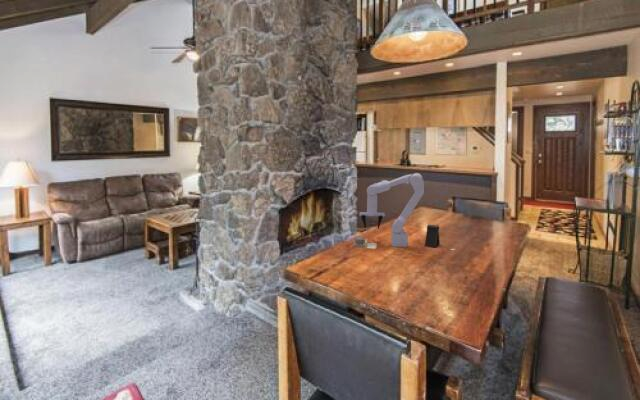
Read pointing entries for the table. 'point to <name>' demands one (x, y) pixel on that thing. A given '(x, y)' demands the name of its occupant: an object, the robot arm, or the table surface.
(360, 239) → the gray block
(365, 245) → the door board
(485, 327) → the table surface
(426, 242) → the phone stand
